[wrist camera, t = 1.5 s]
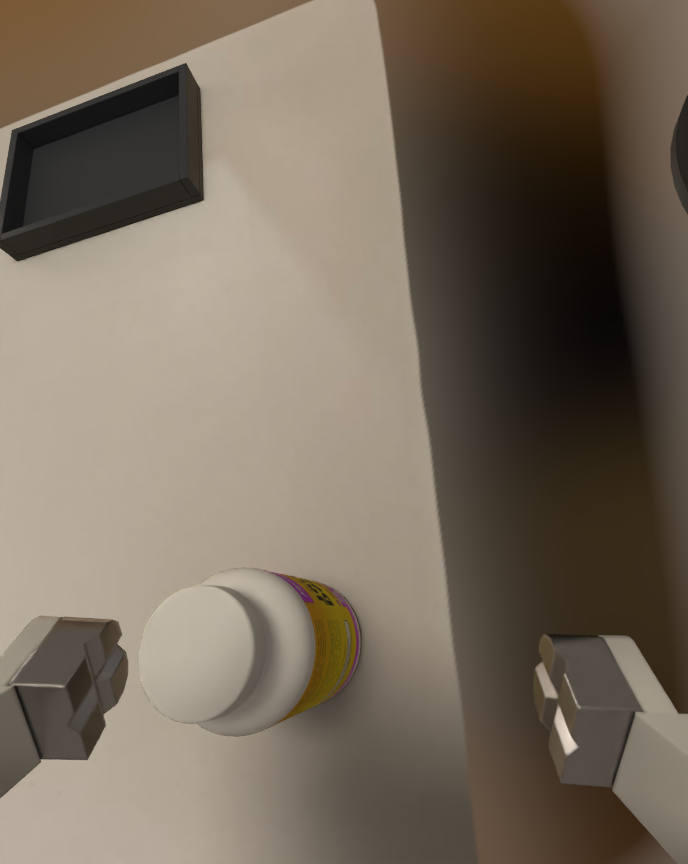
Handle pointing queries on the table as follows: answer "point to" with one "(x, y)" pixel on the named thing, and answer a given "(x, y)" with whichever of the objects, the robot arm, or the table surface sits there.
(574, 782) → the robot arm
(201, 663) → the supplement bottle
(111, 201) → the tray
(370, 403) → the table surface
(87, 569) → the table surface
